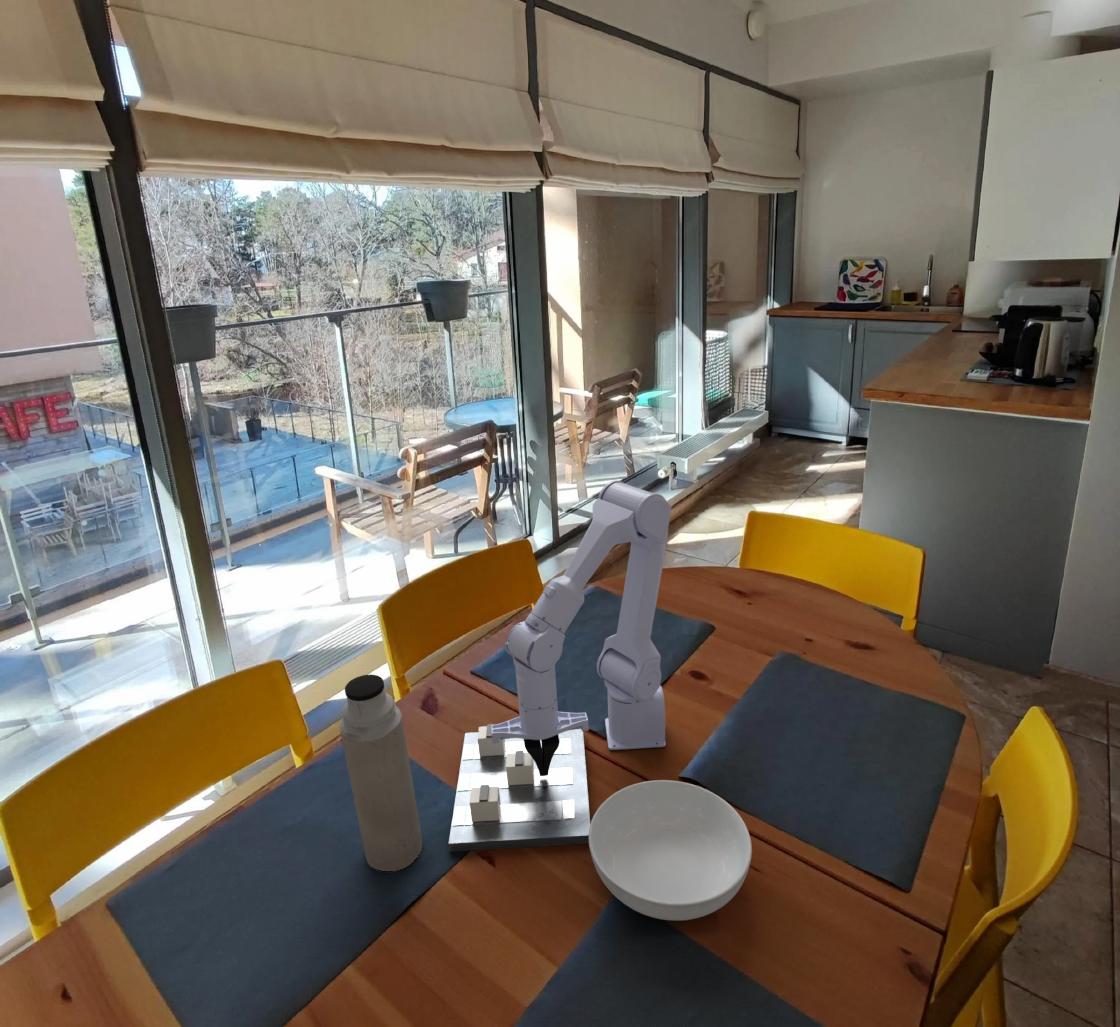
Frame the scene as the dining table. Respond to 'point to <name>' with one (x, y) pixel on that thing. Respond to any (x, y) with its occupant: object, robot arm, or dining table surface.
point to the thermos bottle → (380, 775)
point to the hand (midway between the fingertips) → (543, 771)
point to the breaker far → (489, 742)
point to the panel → (524, 799)
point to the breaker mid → (519, 768)
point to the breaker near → (485, 803)
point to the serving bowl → (670, 849)
